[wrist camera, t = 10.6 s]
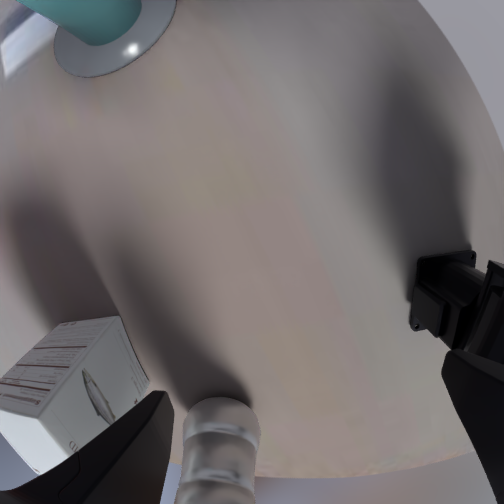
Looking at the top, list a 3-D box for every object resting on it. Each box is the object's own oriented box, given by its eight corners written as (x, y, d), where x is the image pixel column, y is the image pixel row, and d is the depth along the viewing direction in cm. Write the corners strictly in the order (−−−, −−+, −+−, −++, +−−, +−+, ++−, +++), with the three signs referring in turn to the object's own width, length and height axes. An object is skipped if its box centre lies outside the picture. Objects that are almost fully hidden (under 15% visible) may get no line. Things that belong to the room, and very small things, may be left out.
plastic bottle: (184, 384, 23) (129, 601, 4) (262, 388, 23) (271, 619, 4) (191, 429, 25) (157, 607, 6) (258, 433, 25) (262, 617, 6)
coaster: (176, -42, 14) (175, -44, 13) (178, 54, 16) (177, 52, 16) (64, -2, 14) (62, -3, 13) (52, 95, 17) (49, 94, 16)
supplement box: (152, 383, 23) (107, 497, 11) (90, 384, 24) (33, 474, 12) (122, 312, 21) (37, 419, 9) (58, 319, 22) (-26, 401, 10)
